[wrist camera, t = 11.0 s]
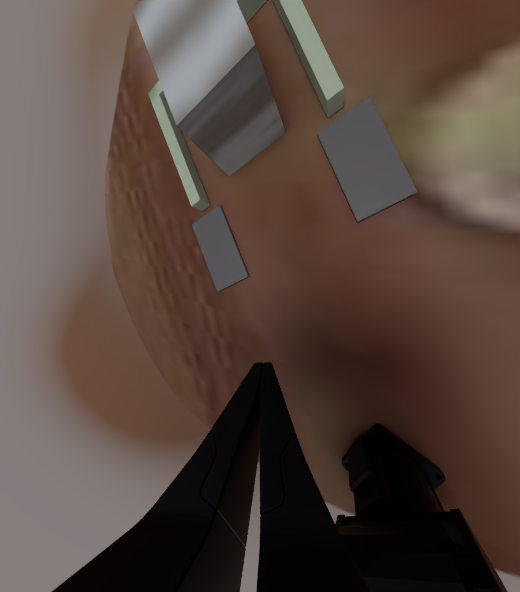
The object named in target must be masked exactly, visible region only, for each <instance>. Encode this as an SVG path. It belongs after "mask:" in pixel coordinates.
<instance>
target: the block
mask: <svg viewBox="0 0 520 592" xmlns="http://www.w3.org/2000/svg"><path fill="white" fill-rule="evenodd" d="M133 13H134V15H135V18H136V21H137V23H138V26H139V28H140V31H141V34H142V36H143V39H144V42H145V44H146V47H147V49H148V52H149V55H150V57H151V60H152V63H153V65H154V68H155V70H156V73H157V76H158V78H159V81H160V84H161V86H162V89H163V91H164V94H165V97H166V99H167V102H168V105H169V107H170V110H171V113H172V115H173V118H174V120H175V123H176V126H177V127H178V128H179V129H180V130H181V131H182V132H183V133H185V134H186V135H187V136H188V137H189V138H190V139H191V140H192V141H193V142H194V143H195V144H196V145H197V146H198V147H199V148H200V149H201V150H202V151H203V152H204V153H205V154H206V155H207V156H208V157H209V158H210V159H211V160H212V161H213V162H214V163H215V164H216V165H218V166H219V167H220V168H221V169H222V170H223V171H224V172H225V173H226V174H227V175H228V176H230V175H231V174H233V173H234V172H235V171H237V170H238V169H239V168H241V167H242V166H243V165H245V164H246V163H247V162H248V161H250V160H251V159H252V158H254V157H255V156H256V155H258V154H259V153H260V152H262V151H263V150H264V149H265V148H267V147H268V146H269V145H271V144H272V143H273V142H275V141H276V140H277V139H278V138H280V137H281V136H282V135H284V134H285V133H286V132H285V129H284V126H283V123H282V120H281V117H280V114H279V111H278V108H277V105H276V103H275V100H274V97H273V94H272V91H271V88H270V85H269V82H268V79H267V76H266V74H265V71H264V68H263V65H262V62H261V59H260V56H259V53H258V50H257V47H256V45H255V42H254V40H253V38H252V35H251V33H250V31H249V28H248V26H247V24H246V21H245V19H244V17H243V15H242V12H241V10H240V8H239V5H238V3H237V1H236V0H140V2H139V3H138V5H137V6H136V8H135V9H134V11H133Z"/></svg>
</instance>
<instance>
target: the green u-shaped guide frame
mask: <svg viewBox="0 0 520 592" xmlns="http://www.w3.org/2000/svg"><path fill="white" fill-rule="evenodd" d="M236 1H237V3H238V5H239V8H240V10H241V12H242V15H243V17H244V19H245V21H246V24H247V23H248V21H249V20H250V19H251V18H252V17H253V16H254V15H255V14H256V12H257V11H258V10H259V9H260V8H261V7H262V6H263V5H264V3H265V2H266V1H267V0H236ZM273 2H274V4H275V6H276V8H277V10H278V13H279V15H280V17H281V19H282V21H283V23H284V25H285V27H286V30H287V32H288V34H289V36H290V38H291V40H292V42H293V44H294V47H295V49H296V51H297V53H298V55H299V57H300V59H301V61H302V64H303V66H304V68H305V70H306V72H307V74H308V76H309V79H310V81H311V83H312V85H313V87H314V89H315V91H316V93H317V96H318V98H319V100H320V102H321V104H322V106H323V108H324V110H325V113H326V115H327V117H328V118H329V117H330V116H332V115H333V114H334V113H336V112H337V111H338V110H340V109H341V108H342V107H343V97H344V87H343V85H342V83H341V81H340V79H339V77H338V75H337V73H336V70H335V68H334V66H333V64H332V62H331V60H330V58H329V56H328V54H327V52H326V50H325V48H324V46H323V44H322V42H321V40H320V38H319V35H318V33H317V31H316V29H315V27H314V25H313V23H312V21H311V19H310V17H309V15H308V13H307V11H306V9H305V7H304V5H303V2H302V0H273ZM149 97H150V99H151V102H152V105H153V107H154V110H155V112H156V115H157V118H158V120H159V123H160V125H161V128H162V131H163V133H164V136H165V139H166V141H167V144H168V146H169V149H170V152H171V154H172V157H173V159H174V162H175V165H176V167H177V170H178V172H179V175H180V178H181V180H182V183H183V185H184V188H185V191H186V193H187V196H188V198H189V201H190V204H191V206H192V207H194V208H196V209H198V210H200V211H204V210H205V209H206V208H208V207H209V206H210V204H209V201H208V199H207V196H206V194H205V191H204V189H203V186H202V183H201V181H200V178H199V176H198V173H197V171H196V168H195V166H194V163H193V161H192V158H191V155H190V153H189V150H188V148H187V145H186V143H185V140H184V138H183V135H182V133H181V130H180V129H179V128H178V127H177V126H176V123H175V120H174V118H173V115H172V113H171V110H170V107H169V105H168V102H167V99H166V97H165V94H164V91H163V89H162V86H161V84H160V81H158V82H157V84H156V85H155V86H154V87H153V89H152V90H151V91H150V92H149ZM317 135H318V138H319V141H320V143H321V145H322V147H323V149H324V151H325V154H326V156H327V158H328V160H329V162H330V165H331V167H332V169H333V171H334V173H335V175H336V178H337V180H338V182H339V184H340V186H341V188H342V191H343V193H344V195H345V197H346V199H347V201H348V204H349V206H350V208H351V210H352V212H353V214H354V217H355V219H356V221H357V223H358V222H360V221H362V220H364V219H366V218H368V217H370V216H372V215H374V214H376V213H378V212H380V211H382V210H384V209H386V208H388V207H390V206H392V205H394V204H396V203H398V202H400V201H402V200H404V199H406V198H408V197H410V196H412V195H414V194H416V193H417V190H416V188H415V186H414V184H413V182H412V180H411V178H410V176H409V174H408V172H407V170H406V168H405V166H404V164H403V162H402V160H401V158H400V156H399V154H398V152H397V150H396V148H395V146H394V144H393V142H392V140H391V138H390V136H389V134H388V132H387V130H386V128H385V126H384V124H383V122H382V120H381V118H380V116H379V114H378V112H377V110H376V108H375V106H374V104H373V102H372V100H371V98H370V96H369V97H368V98H366V99H365V100H364V101H362V102H361V103H360V104H358V105H357V106H355V107H354V108H353V109H351V110H350V111H349V112H347V113H346V114H344V115H343V116H342V117H340V118H339V119H337V120H336V121H335V122H333V123H332V124H331V125H329V126H328V127H326V128H325V129H324V130H322V131H321V132H320V133H318V134H317ZM192 226H193V229H194V231H195V234H196V237H197V239H198V242H199V245H200V247H201V250H202V252H203V255H204V258H205V260H206V263H207V266H208V268H209V271H210V273H211V276H212V279H213V281H214V284H215V287H216V289H217V292H219V291H221V290H223V289H225V288H227V287H229V286H231V285H233V284H235V283H237V282H239V281H241V280H243V279H245V278H247V277H249V274H248V271H247V269H246V266H245V264H244V261H243V259H242V256H241V254H240V251H239V249H238V246H237V244H236V241H235V239H234V236H233V234H232V231H231V229H230V226H229V224H228V221H227V219H226V216H225V214H224V211H223V209H222V206H221V205H219V206H217V207H216V208H215V209H213V210H212V211H211V212H209V213H208V214H206V215H205V216H204V217H202V218H201V219H200V220H198V221H197V222H195V223H194V224H193V225H192Z"/></svg>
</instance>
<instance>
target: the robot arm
mask: <svg viewBox="0 0 520 592" xmlns="http://www.w3.org/2000/svg"><path fill="white" fill-rule="evenodd" d="M379 429H380V430H382V431H381V432H380V431H378V430H379ZM259 448H260V515H261V517H260V551H259V565H258V579H257V592H507V590H506V588H505V586H504V585H503V583H502V581H501V579H500V578H499V576H498V574H497V572H496V571H495V569H494V567H493V566H492V564H491V562H490V561H489V559H488V557H487V555H486V554H485V552H484V550H483V549H482V547H481V545H480V544H479V542H478V540H477V538H476V537H475V535H474V533H473V532H472V530H471V528H470V527H469V525H468V523H467V521H466V520H465V518H464V516H463V515H462V513H461V511H460V510H459V509H450V510H451V512H444V510H443V507H442V505H441V503H440V501H439V499H438V497H437V495H436V492H435V490H434V489H435V488H437V487H438V486H439V485H440V484H442V483H443V482H444V481H445V476H444V474H443V472H442V471H441V470H440V469H439V468H437V467H436V466H435V465H433V464H432V463H431V462H430V461H428V460H427V459H426V458H424V457H423V456H422V455H420V454H419V453H418V452H416V451H415V450H414V449H412V448H411V447H410V446H408V445H407V444H406V443H405V442H403V441H402V440H401V439H399V438H398V437H397V436H395V435H394V434H393V433H391V432H390V431H389V430H387V429H386V428H385V427H383V426H382V425H380V424H376V425H375V426H374V427H373V428H372V429H371V430H370V431H369V432H368V433H367V434H366V435H365V436H361V437H360V438H359V439H358V440H357V441H356V442H355V443H354V444H353V445H352V446H351V447H350V448H349V449H348V451H347V452H348V453H347V454H346V455H345V456H344V457H343V458H342V465H343V467H344V468H345V469H346V470H347V471H349V485H350V490H351V491H352V492H353V493H354V502H355V514H356V516H346V517H345V515H338V516H337V521H336V524H335V523H334V521H333V519H332V517H331V515H330V512H329V510H328V508H327V506H326V504H325V502H324V500H323V497H322V495H321V493H320V491H319V489H318V487H317V485H316V482H315V480H314V478H313V476H312V474H311V471H310V469H309V467H308V464H307V462H306V460H305V457H304V454H303V452H302V449H301V446H300V444H299V441H298V438H297V435H296V433H295V429H294V426H293V423H292V420H291V418H290V415H289V412H288V409H287V406H286V403H285V400H284V397H283V394H282V391H281V388H280V385H279V382H278V379H277V376H276V374H275V371H274V368H273V365H272V363H271V362H265V363H254V365H253V366H252V368H251V369H250V371H249V372H248V374H247V375H246V377H245V378H244V380H243V381H242V383H241V384H240V386H239V387H238V389H237V391H236V392H235V394H234V395H233V397H232V398H231V400H230V401H229V403H228V404H227V406H226V407H225V409H224V410H223V412H222V413H221V415H220V416H219V418H218V419H217V421H216V422H215V424H214V425H213V427H212V430H210V431H209V433H208V435H207V436H206V437H205V439H204V440H203V442H202V443H201V445H200V446H199V448H198V449H197V450H196V452H195V453H194V455H193V456H192V457H191V459H190V460H189V461H188V463H187V464H186V465H185V466H184V468H183V469H182V470H181V472H180V473H179V474H178V475H177V477H176V478H175V479H174V480H173V482H172V483H171V484H170V486H169V487H168V488H167V489H166V490H165V492H164V493H163V494H162V495H161V497H160V498H159V499H158V501H157V502H156V503H155V504H154V506H153V507H152V508H151V509H150V510H149V512H147V514H146V515H145V516H144V517H143V518H142V519H141V520H140V521H139V522H138V523H137V524H136V525H134V526H133V527H132V528H131V529H130V530H129V531H127V532H126V533H125V534H124V535H122V536H121V537H120V538H119V539H118V540H116V541H115V542H114V543H112V544H111V545H110V546H109V547H107V548H106V549H105V550H104V551H103V552H101V553H100V554H99V555H97V556H96V557H95V558H93V559H92V560H91V561H90V562H88V563H87V564H86V565H85V566H84V567H82V568H81V569H80V570H78V571H77V572H76V573H75V574H73V575H72V576H71V577H70V578H68V579H67V580H66V581H65V582H63V583H62V584H61V585H60V586H58V587H57V588H56V589H54V590H53V591H52V592H240V586H241V578H242V571H243V564H244V557H245V550H246V549H245V547H246V542H247V535H248V528H249V520H250V512H251V506H252V499H253V492H254V484H255V477H256V470H257V463H258V456H259ZM346 463H348V464H346ZM436 474H439V475H438V476H437V475H436Z"/></svg>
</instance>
